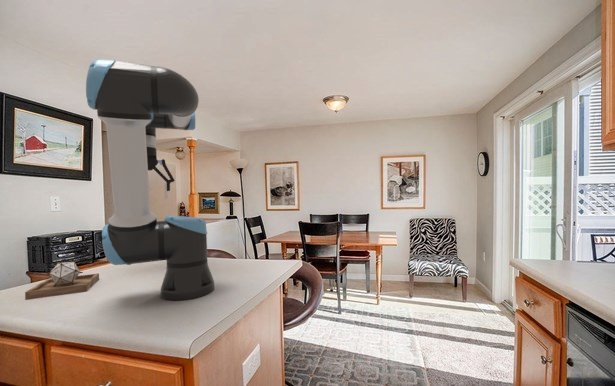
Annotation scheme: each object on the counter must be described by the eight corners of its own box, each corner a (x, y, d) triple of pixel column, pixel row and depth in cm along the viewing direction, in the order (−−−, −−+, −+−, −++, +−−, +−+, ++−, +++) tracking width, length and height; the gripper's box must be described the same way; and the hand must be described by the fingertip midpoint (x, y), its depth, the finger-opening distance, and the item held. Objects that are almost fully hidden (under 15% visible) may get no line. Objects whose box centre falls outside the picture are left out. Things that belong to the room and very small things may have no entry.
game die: (66, 297, 94) (58, 277, 89) (45, 287, 96) (35, 268, 90) (91, 277, 102) (84, 258, 96) (71, 268, 103) (63, 249, 97)
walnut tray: (86, 291, 92) (86, 284, 92) (25, 299, 86) (25, 292, 86) (99, 279, 106) (98, 273, 106) (47, 285, 100) (46, 279, 100)
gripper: (179, 149, 124) (181, 198, 124) (111, 147, 115) (112, 200, 114) (179, 146, 118) (181, 198, 117) (106, 144, 108) (108, 201, 108)
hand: (147, 199), depth 116 cm, fingers open, 13 cm apart
